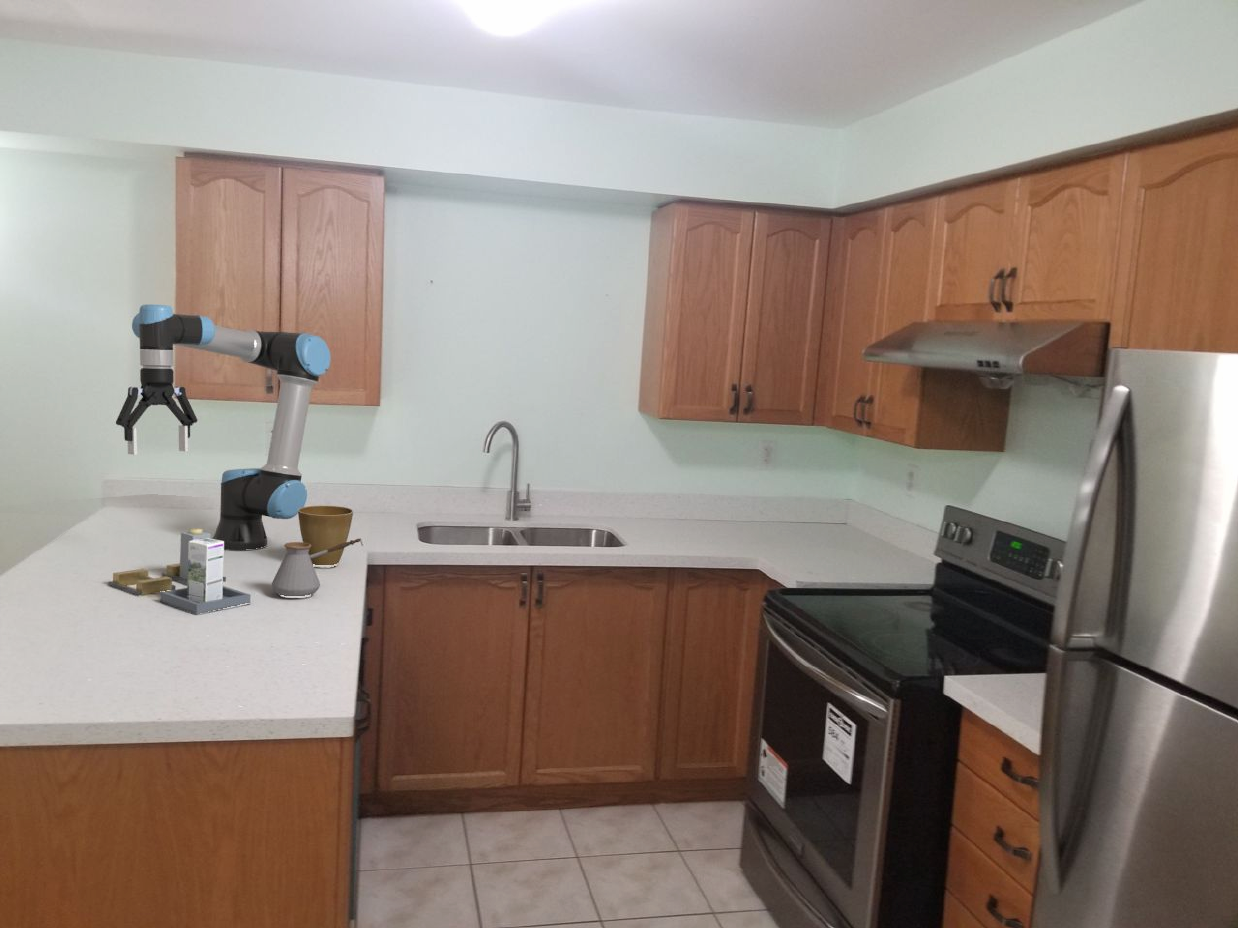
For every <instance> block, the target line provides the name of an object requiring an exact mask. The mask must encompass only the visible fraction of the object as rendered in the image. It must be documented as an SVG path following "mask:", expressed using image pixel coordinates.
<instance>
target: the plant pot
mask: <svg viewBox="0 0 1238 928" xmlns="http://www.w3.org/2000/svg"><path fill="white" fill-rule="evenodd" d="M353 514H354V510H353V509H352V508H350V507H349V508H348V507H345V506H338V505H310V506H304V507H302V508H300V509H298V513H297V515H298V523H299V528H300V529H299V530H300V536H301V540H302V542H303V543H309V544H311V547H310V549H309V552H308V554H309V555H312V554H315V553H318V552H321V551H324V550H327V549H329V548H332V547H334V546H337V545H339V544H342V543H346V542H348V538H349V534H350V531H351V526H352V522H353V521H352V520H353V516H354V515H353ZM344 551H345V548H342V549H339V550H335V551H332V552H329V553H325V554H322V555H320V556H317V557H314V558H312V559H311V562H312V564H315V565H334V564H337V563H338V564H339V563H340V560H341V558H342V555H343V553H344Z"/></svg>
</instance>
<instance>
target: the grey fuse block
mask: <svg viewBox="0 0 1238 928" xmlns="http://www.w3.org/2000/svg"><path fill="white" fill-rule="evenodd" d="M211 536H212V534H211V533H208V532H205V531H203V528H198V527H197V528H196V527H195V528H194V527H192V528H189V531H185V532H184V531H183V532H180V549H179V551H180V556H179V557H180V558H179V563H180V578H183V579H187V580H188V544H189V541H192V540H195V539H199V538H209V539H212V537H211Z"/></svg>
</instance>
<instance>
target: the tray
mask: <svg viewBox="0 0 1238 928" xmlns="http://www.w3.org/2000/svg"><path fill="white" fill-rule="evenodd" d="M159 601H160V603H161V602H162V604H164V603H165V605H167V606H170V607H172V606H173V607H172V608H175V607H176V609H178V608H179V609H178V610H181V609H182V610H181V611H184V610H185V611H184V612H186V611H188V612H187V613H189V612H191V613H190V614H192V613H194V614H193V615H195V614H200V613H205V612H208V611H209V612H210V611H213V610H218V609H223V608H227V607H231V606H237V605H240V604H245V603H250V604H251V594H249V593H246V592H243V591H239V590H237V589H233V588H230V587H227V586H224V585H223V595H222V599H218V600H212V601H207V602H201V603H197V602H194V601H191V600H188V599H187V587H184V588H178V589H175V590H171V591H165V592H160V600H159ZM210 613H211V612H210ZM205 614H206V613H205ZM200 615H201V614H200Z"/></svg>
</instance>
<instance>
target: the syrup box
mask: <svg viewBox="0 0 1238 928" xmlns="http://www.w3.org/2000/svg"><path fill="white" fill-rule="evenodd" d="M224 552H225V549H224V541H220V540H215V539H213V538H211V539H209V538H199V539H195V540H192V541H189V544H188V583H187V585H186V586H187V587H186V588H187V599H188V600H191V601H194V602H197V603H201V602H207V601H212V600H218V599H222V595H223V586H224V584H223V583H224V582H223V577H224V557H225V556H224V555H225V553H224Z"/></svg>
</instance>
